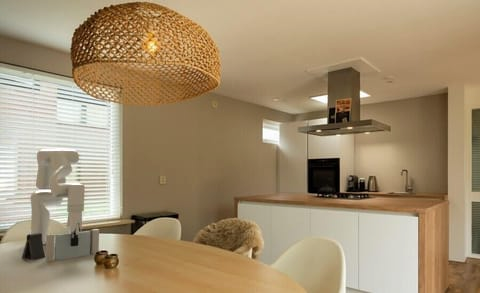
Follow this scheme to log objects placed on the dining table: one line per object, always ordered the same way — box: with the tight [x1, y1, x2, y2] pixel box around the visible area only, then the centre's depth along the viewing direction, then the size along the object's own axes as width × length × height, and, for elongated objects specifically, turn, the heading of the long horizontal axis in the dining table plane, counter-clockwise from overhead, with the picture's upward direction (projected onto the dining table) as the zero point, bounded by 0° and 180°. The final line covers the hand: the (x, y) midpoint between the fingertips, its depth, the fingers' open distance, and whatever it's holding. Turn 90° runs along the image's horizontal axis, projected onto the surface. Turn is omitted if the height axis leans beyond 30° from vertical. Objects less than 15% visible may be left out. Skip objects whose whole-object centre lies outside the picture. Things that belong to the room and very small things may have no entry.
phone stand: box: [21, 233, 46, 261], centre depth 166 cm, size 9×6×12 cm, turn 65°
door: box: [54, 229, 92, 261], centre depth 168 cm, size 17×2×13 cm, turn 130°
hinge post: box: [90, 228, 100, 255], centre depth 174 cm, size 3×3×12 cm
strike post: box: [45, 233, 56, 262], centre depth 161 cm, size 3×3×12 cm
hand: (74, 245), depth 164 cm, fingers closed
